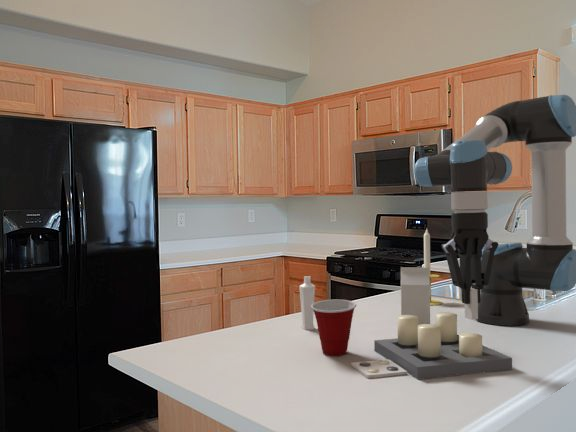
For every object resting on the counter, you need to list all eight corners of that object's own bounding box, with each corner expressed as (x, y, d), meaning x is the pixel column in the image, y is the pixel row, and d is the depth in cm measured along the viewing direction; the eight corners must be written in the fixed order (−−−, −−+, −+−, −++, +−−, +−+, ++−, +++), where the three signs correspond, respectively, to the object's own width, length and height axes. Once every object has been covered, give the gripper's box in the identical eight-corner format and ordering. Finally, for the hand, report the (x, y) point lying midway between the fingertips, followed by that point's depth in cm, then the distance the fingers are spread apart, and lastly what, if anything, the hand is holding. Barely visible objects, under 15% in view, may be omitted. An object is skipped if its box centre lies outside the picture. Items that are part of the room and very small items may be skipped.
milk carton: (430, 344, 132) (429, 269, 132) (401, 343, 134) (400, 269, 133) (428, 337, 139) (427, 266, 139) (401, 336, 141) (400, 265, 140)
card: (389, 361, 118) (389, 358, 118) (407, 374, 109) (407, 370, 109) (351, 365, 116) (351, 361, 116) (366, 378, 107) (366, 374, 107)
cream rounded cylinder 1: (450, 336, 128) (450, 311, 128) (461, 341, 123) (460, 315, 123) (432, 337, 127) (432, 313, 127) (442, 342, 122) (442, 317, 122)
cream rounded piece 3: (412, 339, 126) (412, 314, 126) (422, 344, 121) (422, 318, 121) (394, 340, 125) (394, 315, 124) (403, 346, 120) (403, 319, 120)
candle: (447, 302, 187) (446, 227, 186) (433, 306, 180) (432, 228, 179) (422, 299, 194) (421, 226, 193) (407, 303, 186) (407, 228, 186)
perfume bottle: (308, 331, 148) (307, 278, 148) (297, 328, 152) (296, 276, 151) (319, 328, 151) (318, 276, 151) (309, 325, 155) (308, 275, 154)
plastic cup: (303, 355, 124) (302, 305, 124) (325, 344, 133) (324, 297, 133) (343, 362, 118) (343, 309, 118) (364, 350, 127) (363, 301, 127)
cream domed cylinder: (433, 350, 116) (433, 323, 116) (445, 356, 111) (445, 328, 111) (414, 352, 115) (413, 324, 115) (424, 358, 110) (424, 329, 110)
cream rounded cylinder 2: (474, 358, 118) (473, 332, 118) (486, 364, 114) (486, 337, 114) (455, 360, 117) (454, 333, 117) (467, 366, 113) (466, 339, 112)
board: (455, 343, 132) (455, 333, 132) (512, 369, 111) (512, 357, 111) (374, 350, 127) (374, 340, 127) (417, 379, 106) (417, 367, 106)
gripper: (485, 210, 120) (487, 312, 121) (433, 212, 117) (436, 316, 118) (506, 210, 113) (508, 319, 113) (451, 212, 110) (454, 324, 110)
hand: (471, 317), depth 116 cm, fingers closed
